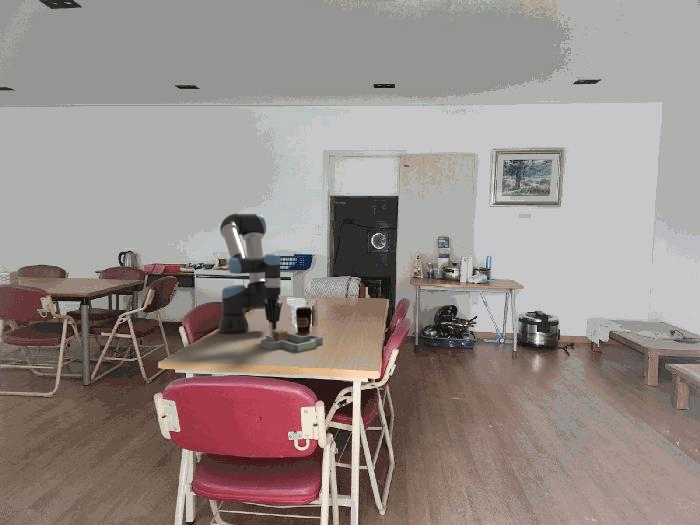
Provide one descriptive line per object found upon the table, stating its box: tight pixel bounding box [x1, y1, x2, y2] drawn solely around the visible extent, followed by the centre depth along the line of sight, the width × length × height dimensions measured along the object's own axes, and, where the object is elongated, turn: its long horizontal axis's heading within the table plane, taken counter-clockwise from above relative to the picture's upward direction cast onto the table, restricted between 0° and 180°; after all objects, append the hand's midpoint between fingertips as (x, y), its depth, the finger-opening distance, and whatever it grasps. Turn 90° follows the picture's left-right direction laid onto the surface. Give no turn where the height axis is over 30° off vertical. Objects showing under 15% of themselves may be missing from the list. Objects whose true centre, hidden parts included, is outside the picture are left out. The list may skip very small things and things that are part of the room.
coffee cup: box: [295, 306, 313, 335], centre depth 244 cm, size 9×8×13 cm
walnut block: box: [272, 329, 288, 342], centre depth 226 cm, size 5×5×5 cm
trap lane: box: [260, 332, 324, 353], centre depth 220 cm, size 23×24×3 cm
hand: (272, 335), depth 230 cm, fingers closed
